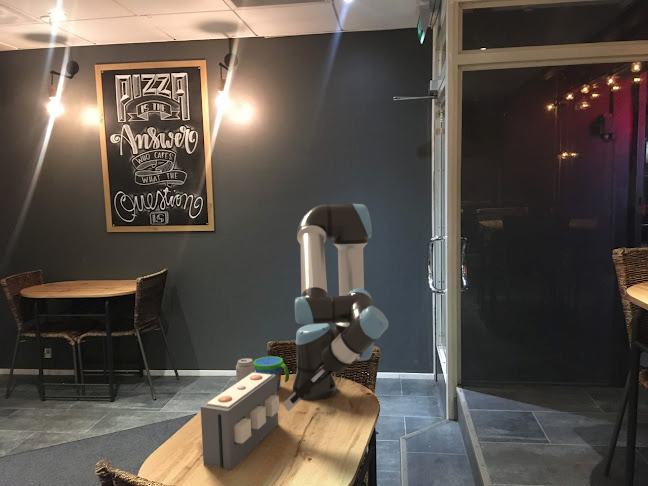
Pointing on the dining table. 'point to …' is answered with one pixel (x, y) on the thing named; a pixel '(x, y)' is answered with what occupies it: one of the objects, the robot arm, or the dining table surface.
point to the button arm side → (272, 405)
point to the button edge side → (242, 430)
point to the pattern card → (239, 390)
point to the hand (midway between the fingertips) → (286, 406)
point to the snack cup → (272, 367)
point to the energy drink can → (244, 368)
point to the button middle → (258, 417)
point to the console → (221, 426)
